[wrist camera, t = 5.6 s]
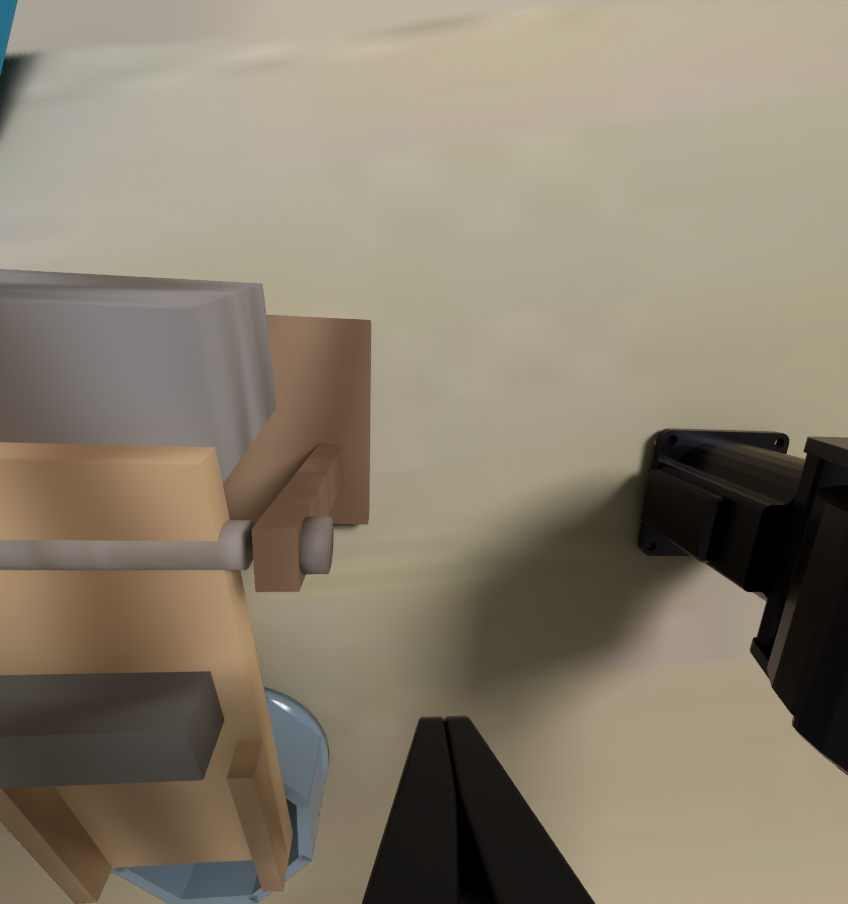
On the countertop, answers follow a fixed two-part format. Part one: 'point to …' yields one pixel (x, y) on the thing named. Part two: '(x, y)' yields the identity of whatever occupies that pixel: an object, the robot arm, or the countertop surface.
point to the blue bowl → (303, 775)
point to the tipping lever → (131, 578)
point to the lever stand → (307, 450)
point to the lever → (5, 25)
